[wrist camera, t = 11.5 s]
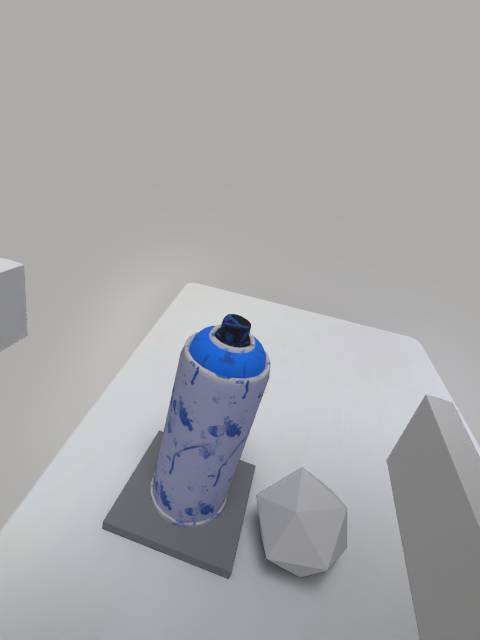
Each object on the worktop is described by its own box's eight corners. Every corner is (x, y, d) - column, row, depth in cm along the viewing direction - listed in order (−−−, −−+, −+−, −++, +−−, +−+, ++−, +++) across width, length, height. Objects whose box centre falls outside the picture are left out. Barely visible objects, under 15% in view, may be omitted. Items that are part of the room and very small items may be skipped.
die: (346, 563, 36) (346, 462, 37) (347, 617, 27) (347, 484, 29) (265, 548, 38) (268, 453, 39) (244, 594, 30) (249, 472, 31)
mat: (253, 471, 42) (255, 465, 41) (228, 578, 31) (231, 572, 30) (158, 436, 43) (159, 430, 42) (102, 528, 32) (103, 521, 32)
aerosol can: (241, 504, 36) (306, 340, 28) (173, 544, 31) (227, 358, 23) (200, 449, 41) (244, 295, 33) (136, 475, 36) (168, 301, 28)
